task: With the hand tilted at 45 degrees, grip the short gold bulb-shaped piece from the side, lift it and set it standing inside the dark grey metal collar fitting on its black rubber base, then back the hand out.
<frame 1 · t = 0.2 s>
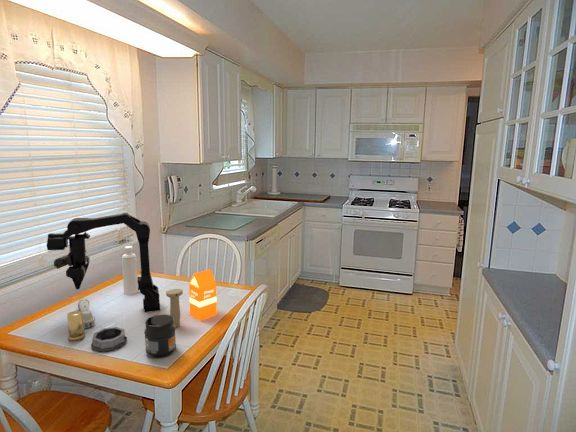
hand: (79, 285, 157), 14 cm above the table, tool pointing down, fingers open, 9 cm apart
orange juice: (203, 315, 164), on the table
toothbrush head: (85, 317, 161), on the table
collar fitting: (109, 343, 140), on the table
gold bulb-shaped piece: (77, 338, 143), on the table
supplement container: (161, 351, 135), on the table
handle: (175, 326, 154), on the table
spray bottle: (131, 292, 188), on the table
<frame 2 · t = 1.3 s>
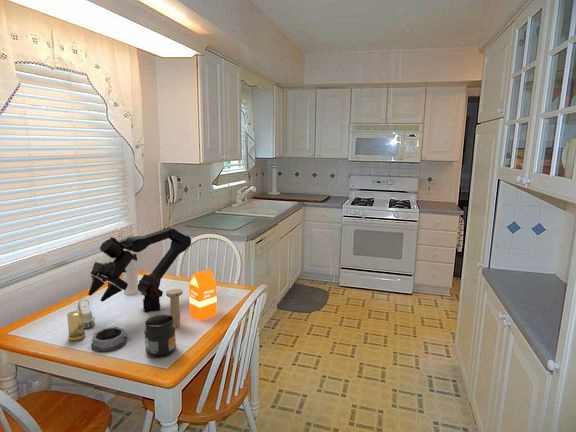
hand: (95, 298, 147), 13 cm above the table, tool tilted 45°, fingers open, 9 cm apart
nothing on the table moved.
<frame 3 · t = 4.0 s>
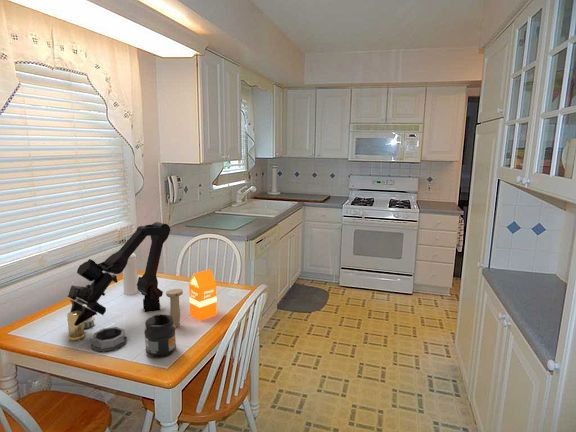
hand: (71, 323, 141), 7 cm above the table, tool tilted 45°, fingers closed on gold bulb-shaped piece, 5 cm apart
gold bulb-shaped piece: (77, 338, 143), on the table, touching gripper
everything else where it was.
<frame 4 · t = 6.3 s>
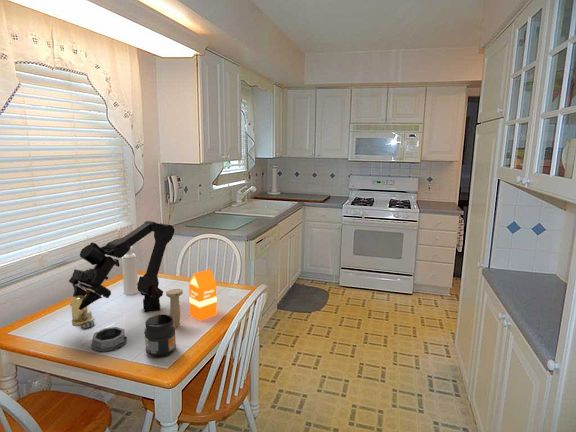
hand: (75, 307, 138), 13 cm above the table, tool tilted 45°, fingers closed on gold bulb-shaped piece, 5 cm apart
gold bulb-shaped piece: (80, 322, 141), point 7 cm above the table, touching gripper
everything else where it was.
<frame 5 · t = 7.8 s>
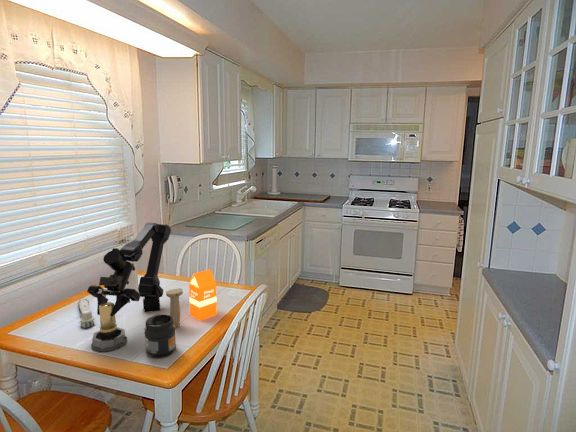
hand: (104, 315, 136), 12 cm above the table, tool tilted 45°, fingers closed on gold bulb-shaped piece, 5 cm apart
gold bulb-shaped piece: (108, 330, 139), point 5 cm above the table, touching gripper
everything else where it was.
when the fingers open (8 cm above the table, at t = 8.9 s): gold bulb-shaped piece stays where it is, resting on collar fitting.
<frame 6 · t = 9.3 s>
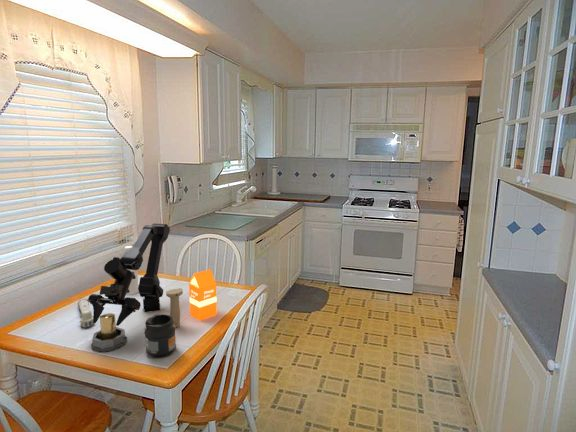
hand: (105, 324, 137), 8 cm above the table, tool tilted 45°, fingers open, 9 cm apart
gold bulb-shaped piece: (109, 341, 140), point 1 cm above the table, touching collar fitting
everything else where it was.
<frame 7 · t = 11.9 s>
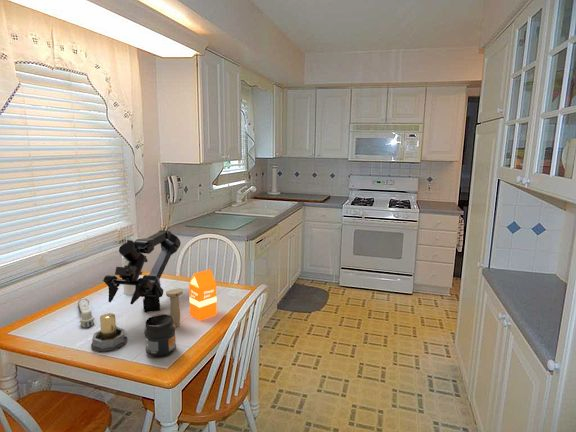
hand: (120, 303, 145), 13 cm above the table, tool tilted 45°, fingers open, 9 cm apart
nothing on the table moved.
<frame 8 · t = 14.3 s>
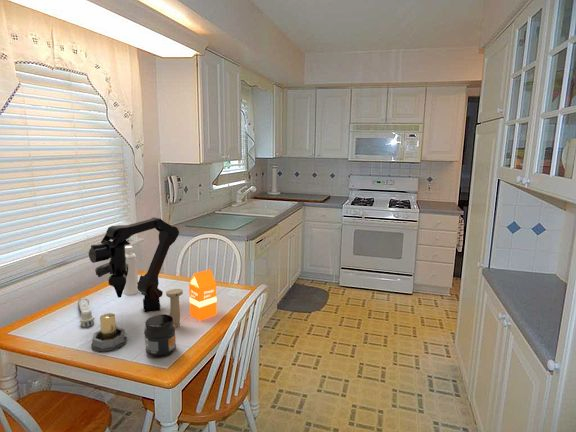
hand: (120, 293, 156), 12 cm above the table, tool pointing down, fingers open, 9 cm apart
at the end: gold bulb-shaped piece 0.1 cm off-centre on the collar fitting, point 0.8 cm above the collar fitting's base; gold bulb-shaped piece tilted 0°; the gripper is holding nothing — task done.
